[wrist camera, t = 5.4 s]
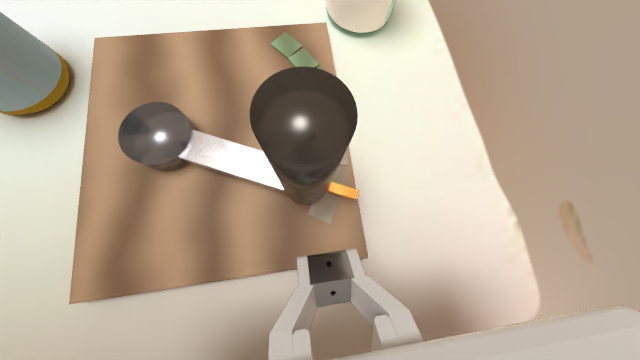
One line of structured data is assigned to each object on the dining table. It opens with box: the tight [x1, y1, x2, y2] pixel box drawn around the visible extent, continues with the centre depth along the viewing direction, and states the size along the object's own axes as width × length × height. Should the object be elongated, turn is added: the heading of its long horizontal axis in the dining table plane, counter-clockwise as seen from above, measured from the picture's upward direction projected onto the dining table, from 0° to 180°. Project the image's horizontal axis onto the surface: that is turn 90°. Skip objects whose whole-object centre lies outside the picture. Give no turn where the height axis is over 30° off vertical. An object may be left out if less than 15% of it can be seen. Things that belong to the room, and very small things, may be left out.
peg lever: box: [118, 66, 359, 204], centre depth 13 cm, size 18×5×12 cm, turn 73°
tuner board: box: [69, 23, 368, 304], centre depth 20 cm, size 22×23×1 cm
